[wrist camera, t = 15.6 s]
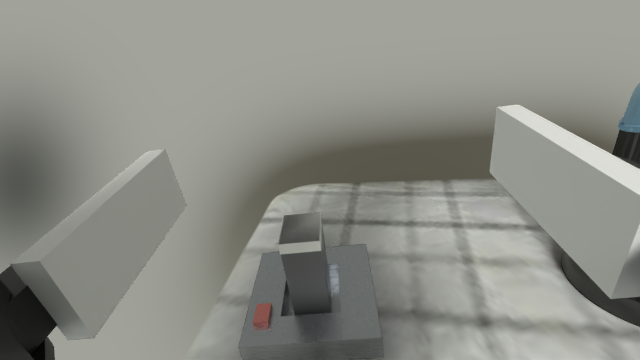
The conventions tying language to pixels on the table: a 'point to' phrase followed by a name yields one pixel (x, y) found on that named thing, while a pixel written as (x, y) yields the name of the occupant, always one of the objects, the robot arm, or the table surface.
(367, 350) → the socket block
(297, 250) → the plug
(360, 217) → the table surface
